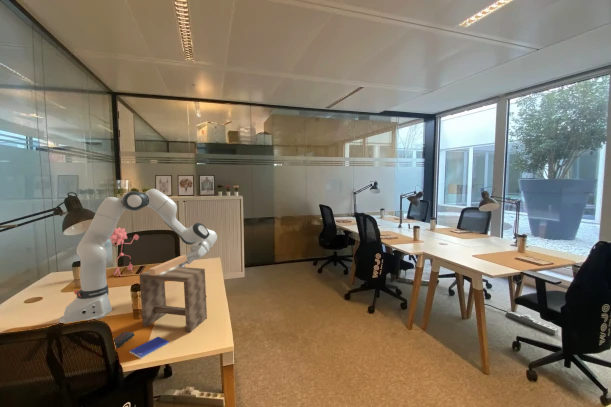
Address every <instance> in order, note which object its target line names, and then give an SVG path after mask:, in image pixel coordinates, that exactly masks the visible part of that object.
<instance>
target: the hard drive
mask: <svg viewBox="0 0 611 407" xmlns="http://www.w3.org/2000/svg"><path fill="white" fill-rule="evenodd" d="M169 344H170V341H168V340H167V339H165V338H162V337H160V336H156V337H154V338H153V339H150V340H149V341H146V342H144V343H143V344H141V345H138V346H136V347H135V348H132V349H131V350H129V354H131V353H132V354H131V355H133V354H134V355H133V356H134V357H137V358H139V359H141V360H142V359H143V358H145V357H146V356H149V355H150V354H152V352H153V353H154V352H157V351H158V350H160V349H161V347H162V348H163V347H165V346H167V345H169ZM159 348H160V349H159ZM157 349H158V350H157Z"/></svg>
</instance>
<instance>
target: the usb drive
mask: <svg viewBox="0 0 611 407" xmlns="http://www.w3.org/2000/svg"><path fill="white" fill-rule="evenodd" d="M133 336H134V337H135V332H133V331H123V332H121V333H120V334H119V335H117V336H116V337H115V338H113V339H114V342H115V346H116V349H119V348H121V347H123V344H124V343H125V342H126V343H127V342H129V341H130V340H131V339H133V338H134V337H133ZM129 339H130V340H129ZM128 340H129V341H128ZM126 343H125V344H126ZM125 344H124V345H125ZM120 346H121V347H120ZM116 349H115V350H116Z"/></svg>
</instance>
